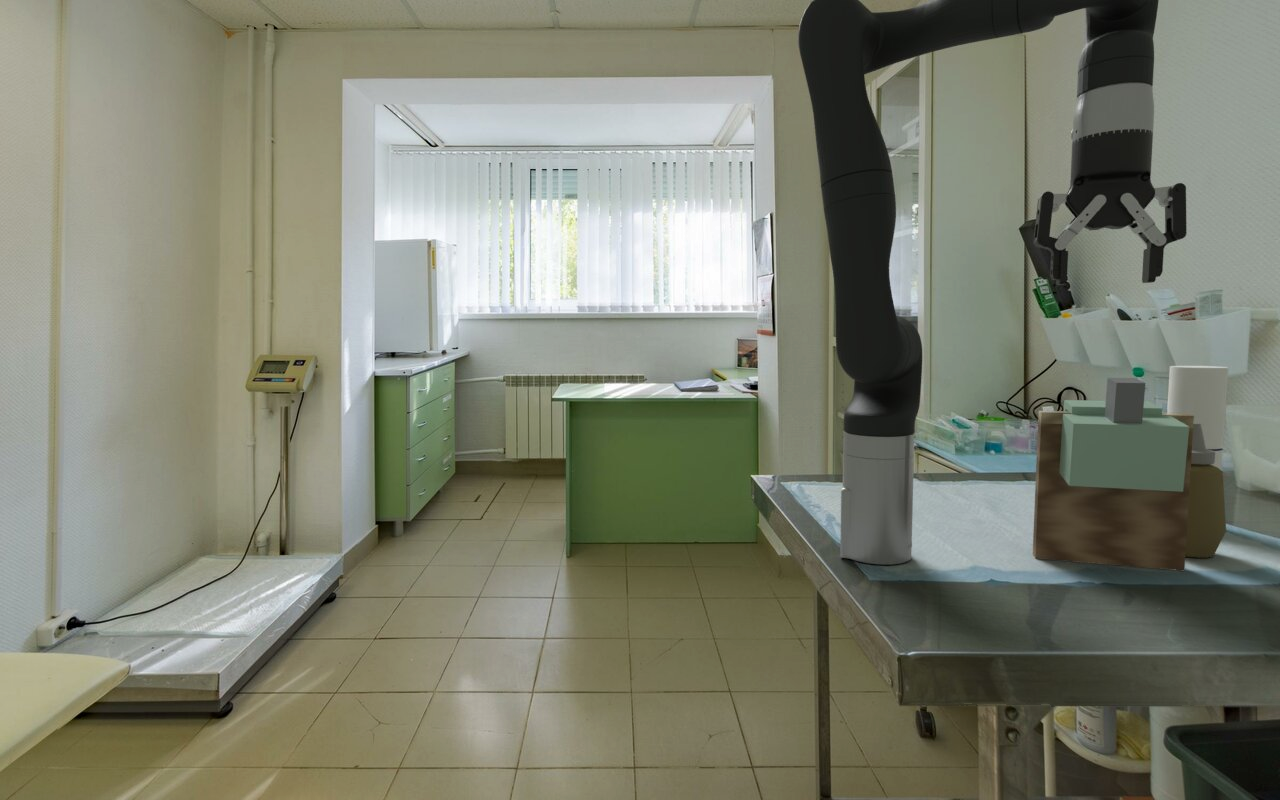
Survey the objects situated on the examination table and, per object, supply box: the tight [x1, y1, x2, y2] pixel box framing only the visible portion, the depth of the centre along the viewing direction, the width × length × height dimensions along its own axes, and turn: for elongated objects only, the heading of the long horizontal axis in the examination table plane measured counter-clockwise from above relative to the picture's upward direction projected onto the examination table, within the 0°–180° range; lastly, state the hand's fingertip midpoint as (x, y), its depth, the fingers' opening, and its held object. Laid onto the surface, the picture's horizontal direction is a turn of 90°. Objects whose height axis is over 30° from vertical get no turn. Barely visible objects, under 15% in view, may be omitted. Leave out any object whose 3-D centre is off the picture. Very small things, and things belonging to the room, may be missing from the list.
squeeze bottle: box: [1185, 423, 1227, 558], centre depth 99 cm, size 8×8×18 cm
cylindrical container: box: [1166, 365, 1229, 471], centre depth 112 cm, size 7×7×25 cm
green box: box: [1059, 377, 1189, 492], centre depth 92 cm, size 12×11×13 cm
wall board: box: [1032, 410, 1194, 571], centre depth 98 cm, size 17×7×20 cm, turn 71°
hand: (1104, 283), depth 81 cm, fingers open, 8 cm apart
